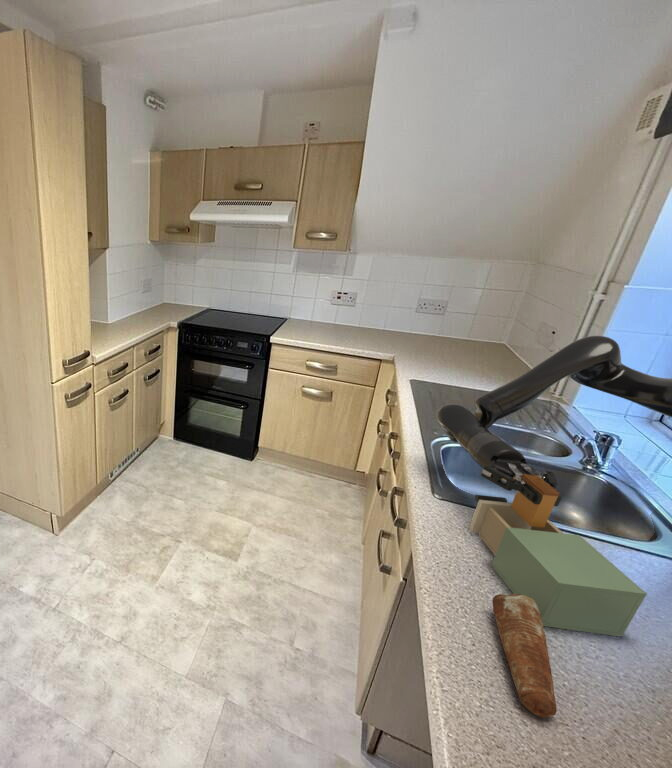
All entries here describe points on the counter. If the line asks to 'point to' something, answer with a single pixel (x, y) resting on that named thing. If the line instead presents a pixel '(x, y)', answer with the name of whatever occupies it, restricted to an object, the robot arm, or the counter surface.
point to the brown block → (535, 512)
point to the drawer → (499, 520)
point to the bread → (526, 651)
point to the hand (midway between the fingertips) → (548, 501)
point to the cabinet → (567, 581)
